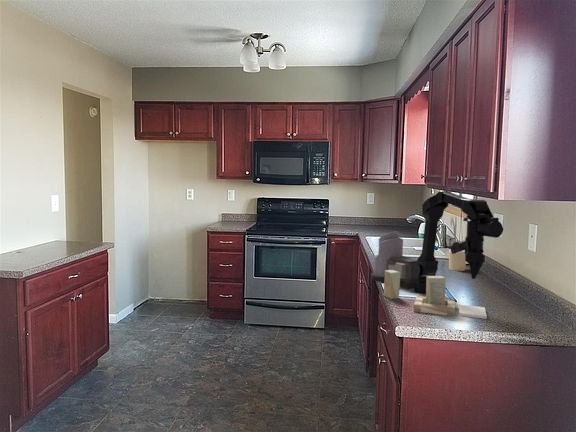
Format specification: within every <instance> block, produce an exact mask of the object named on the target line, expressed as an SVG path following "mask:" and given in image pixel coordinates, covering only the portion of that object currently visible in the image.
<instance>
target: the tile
mask: <svg viewBox="0 0 576 432" xmlns="http://www.w3.org/2000/svg"><path fill="white" fill-rule="evenodd" d="M458 316H459V317H467V318H477V319H485V320H486V319H487V317H488V316H487V312H486V308H485V306H484V307H483V306H477V305H476V306H474V305H467V304H458Z"/></svg>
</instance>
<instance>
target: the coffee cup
mask: <svg viewBox="0 0 576 432" xmlns="http://www.w3.org/2000/svg"><path fill="white" fill-rule="evenodd" d="M466 263H467V262H466V260H465V250H464V251H460V252H457V253H455V254H452V252H451V249H450V248H449V250H448V269H449V270H451V271H457V272H459V271H460V272H463V271H466V267H467V266H466Z"/></svg>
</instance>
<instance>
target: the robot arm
mask: <svg viewBox="0 0 576 432" xmlns="http://www.w3.org/2000/svg"><path fill="white" fill-rule="evenodd" d="M449 205H451V206H453V207H456V208H459V209H460V210H461V212H462V213H464V215H466V217H464V218H463V219H462V221H463V222H466V236H465V239H464V240H461V241H454V242H452V243H451V244H449V249H451V252H452V254H455V253H457V252H460V251H464V250H465V260H466V263H468V265H469V270H470V274H471V275H470V276H471V279H472V280H475V279H476V277H477V276H478V274H479V272H480V270H481V268H482V267H483V264H484V263H485V262H486V261H485V259H486V256H485V254H484V242H485V237H489V238H495V239H496V238H499V237H501V236H502V234H503V231H504V227H503V224H502V223H501V222H500V221H499V220H500V219H499V217H494V215H493V213H492V211H491V208H490V207H489V205H488V202H487V201H486V200H484V199H476V198H474V199H473V198H468V197H465V196H463V195H460V194H456V193H454V192H451V191H449V190H440V191H438V192H437V193H436V194H434V195H433V196H430V197H428V198H427V199H426V200H424V202H423V203H422V207H421V208H422V210H421V211H422V212H421V213H422V216H423V219H424V221H425V223H424V231H423V239H422V248H421V254H420V255H419V256H418V258H416V259H417V263H416V266H415V267H414V269H413V270H412V271H411V276H412V277H414V278H416V288H415V289H413V290H414V291H413V292H414V293H420V294H426V276H437V271H438V270H439V269H438V265H439V261H438V259H436V256H435V249H436V241H437V233H438V226H439V225H438V224H439V221H440V220H441V219H442V217H443V215H444V212H445V210H446V209H447V208H448V207H449Z"/></svg>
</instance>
